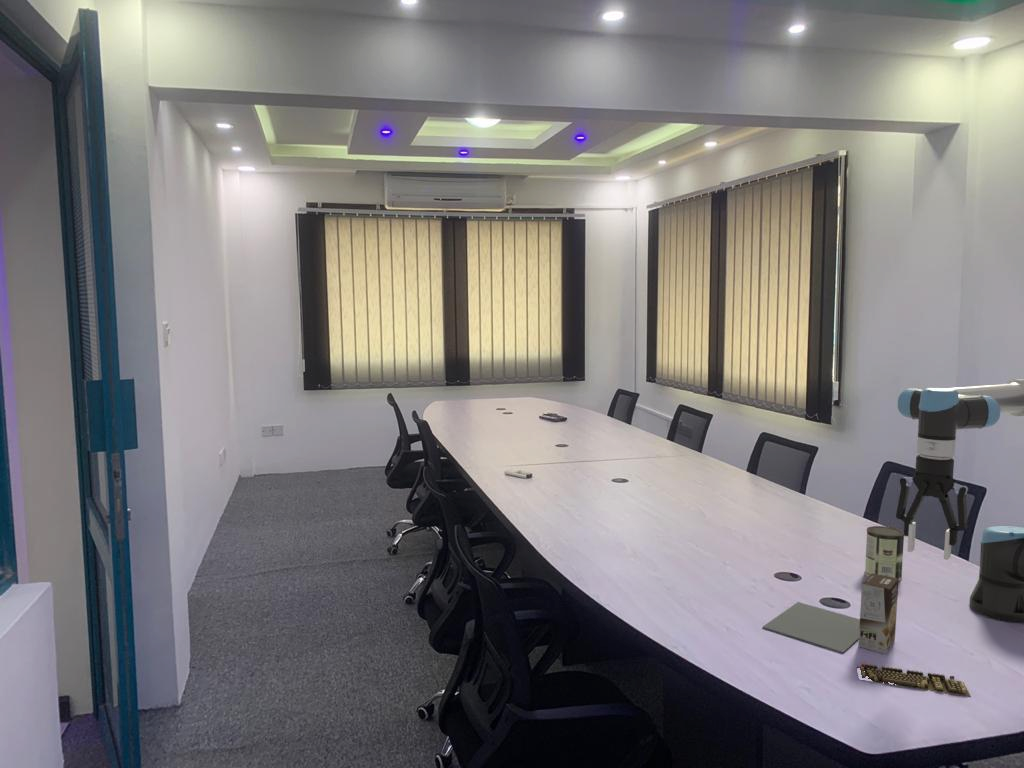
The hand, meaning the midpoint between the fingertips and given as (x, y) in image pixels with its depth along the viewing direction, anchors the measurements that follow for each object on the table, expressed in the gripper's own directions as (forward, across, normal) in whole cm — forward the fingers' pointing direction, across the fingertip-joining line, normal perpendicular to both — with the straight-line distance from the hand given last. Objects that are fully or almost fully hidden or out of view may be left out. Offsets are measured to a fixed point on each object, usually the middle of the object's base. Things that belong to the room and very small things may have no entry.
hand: (928, 554), depth 170 cm
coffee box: (+25, -10, 0) cm, 27 cm away
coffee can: (+25, -24, +50) cm, 61 cm away
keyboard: (+26, +1, -13) cm, 29 cm away
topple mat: (+25, -24, 0) cm, 35 cm away
